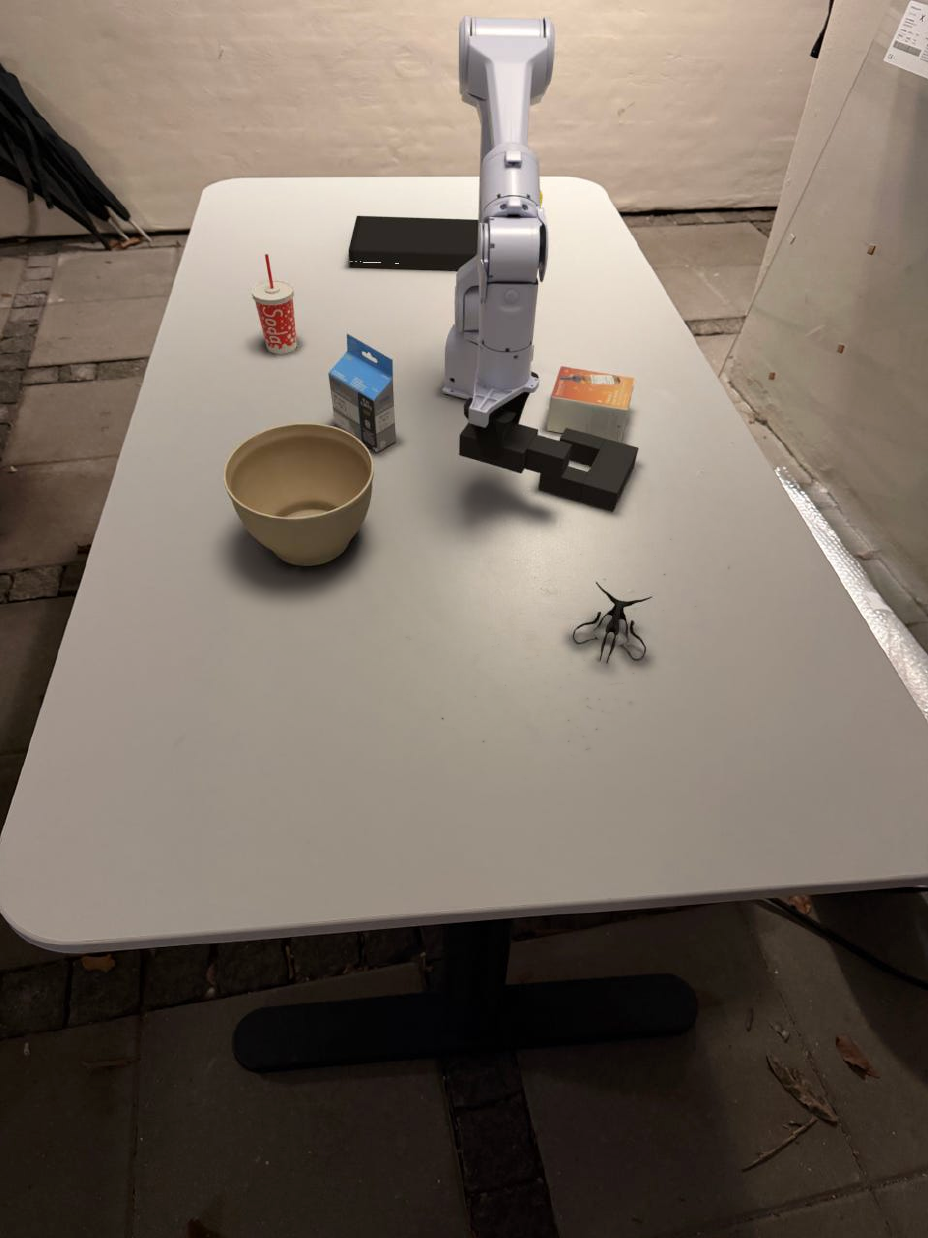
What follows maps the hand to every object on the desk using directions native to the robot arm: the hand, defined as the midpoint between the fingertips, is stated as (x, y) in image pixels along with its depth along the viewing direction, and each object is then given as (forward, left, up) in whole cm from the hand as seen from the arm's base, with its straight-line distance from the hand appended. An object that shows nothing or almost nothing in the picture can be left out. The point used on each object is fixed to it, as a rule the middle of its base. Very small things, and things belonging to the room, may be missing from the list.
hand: (498, 443), depth 92 cm
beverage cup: (-43, +19, -9) cm, 48 cm away
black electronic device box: (-38, +57, -8) cm, 69 cm away
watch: (-26, +81, -9) cm, 85 cm away
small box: (+11, +21, -6) cm, 25 cm away
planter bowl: (-17, -16, -9) cm, 25 cm away
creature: (+20, -16, -9) cm, 27 cm away
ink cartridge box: (-21, +5, -9) cm, 23 cm away
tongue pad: (+2, 0, -1) cm, 3 cm away
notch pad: (+10, +9, -8) cm, 16 cm away
